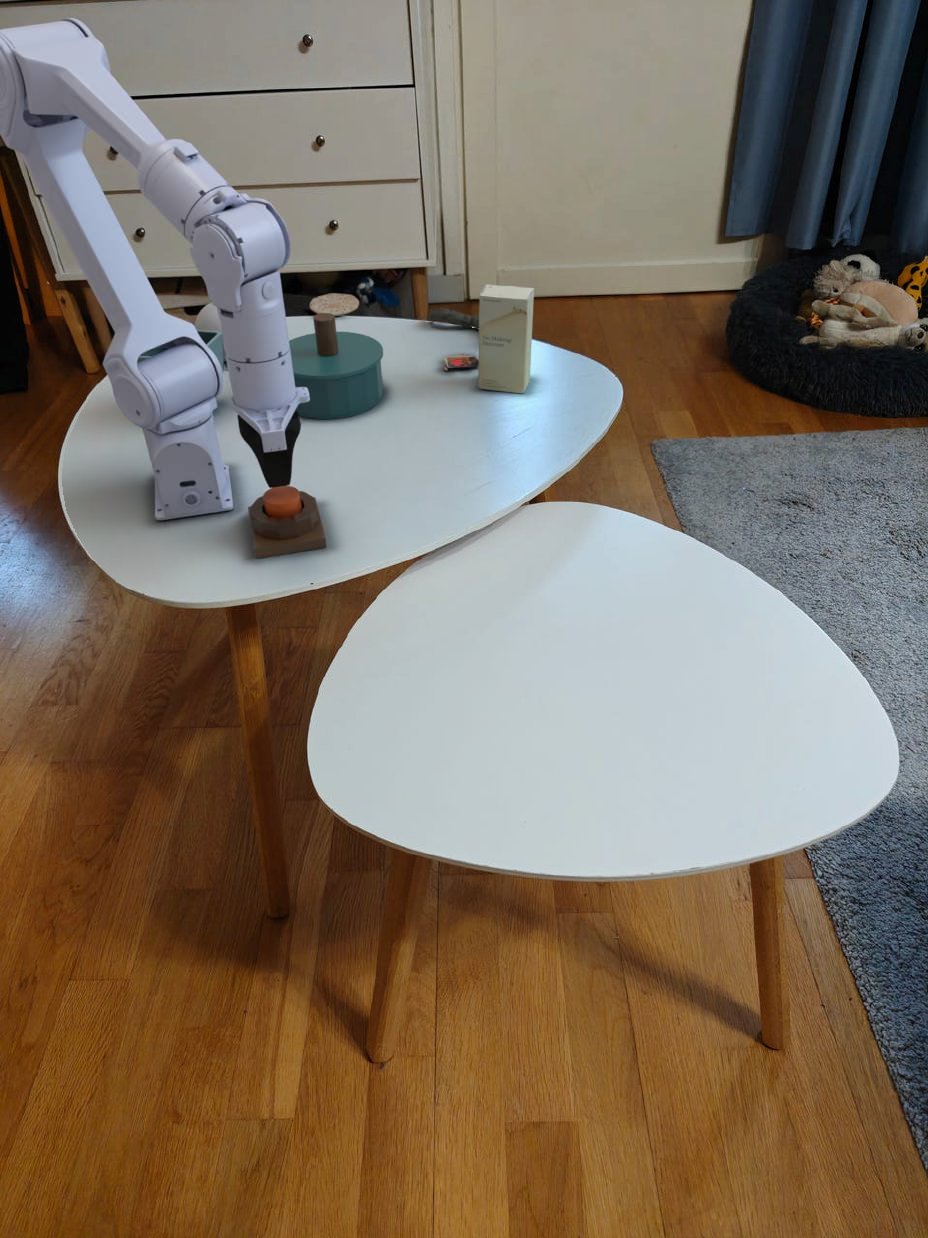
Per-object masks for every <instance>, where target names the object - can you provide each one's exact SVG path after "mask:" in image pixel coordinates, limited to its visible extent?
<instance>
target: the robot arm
mask: <svg viewBox="0 0 928 1238" xmlns="http://www.w3.org/2000/svg"><path fill="white" fill-rule="evenodd" d="M91 131H93V132H94V133H95V134H97V136H99V137H100V138H101V139H102V140H103V141H105V142H106V143H107V144H108V145H109V146H110V147H111V148H112V149H114V150H115V151H116V152H117V153H118V154H119V155H120V156H122V157H123V158H124V160H126V161H127V162H128V163H130V164H131V165H132V166H133V167H134V168H135V169H136V170H137V172H138V173H137V184H138V188H139V190H140V193H141V194H142V195H143V196H144V197H145V198H146V200H148V201H149V202H150V203H151V205H152V206H154V208H155V209H157V211H158V212H159V213H160V214H161V215H162V216H163V217H164V218H165V219H166V220H167V221H168V222H169V223H170V224H171V225H172V226H173V227H174V228H175V230H177V231H178V232H179V233H180V234H181V235H182V236H183V237H184V238H185V239H186V240H187V241H188V242H189V244H191V245H192V246H190V247H189V251H190V255H191V258H192V262H193V264H194V267H195V268H196V270H197V271H198V273H199V275H200V276H201V277H202V279H203V281H204V284H205V287H206V292H207V296H208V299H210V301H211V302H212V304H213V305H214V306H216V307H217V312H218V317H219V323H220V328H221V333H222V339H223V344H224V350H225V356H226V361H227V362H226V366H227V371H228V377H229V382H230V387H231V388H230V389H231V393H232V397H231V406H232V409H233V411H234V412H235V413H236V414H237V422H238V423H237V424H238V429H239V434H240V436H241V438H242V439H243V440H244V442H245V443H246V444H247V445H248V447H249V448H250V449H251V451H252V452H253V454H254V456H255V458H256V460H257V462H258V465H259V467H260V470H261V473H262V475H263V478H264V481H265V482H266V485H267V486H268V488H269V489H271V488H273V487H280V486H291V481H292V473H293V457H294V456H293V455H294V449H295V446H296V443H297V440H298V438H299V435H300V433H301V428H302V424H301V423H302V422H301V419H300V417H299V416H300V415H298V410H297V406H298V404H300V403H305V402H308V401H310V396H309V391H308V389H307V388H306V387H295V381H294V374H293V366H292V359H291V352H290V344H289V340H290V339H289V338H290V337H289V331H288V323H287V317H286V316H287V315H286V309H285V303H284V294H283V287H282V286H283V285H282V279H281V272H280V271H279V270H280V269H283V268H284V267H285V266H286V265H287V264H288V262H289V260H290V257H291V252H292V242H291V237H290V233H289V230H288V227H287V225H286V222H285V220H284V219H283V218H282V216H281V215H280V213H279V212H278V211H277V210H276V208H275V207H274V205H273V204H272V202H269V201H268V200H267V199H264V198H260V197H254V198H253V197H251V196H249V195H248V194H247V193H246V192H245V193H242V192H241V193H238V191H236V189H234V188H233V186H232V185H230V183H229V182H228V181H226V180H225V179H224V177H223V176H222V175H221V174H220V173H219V172H218V171H217V170H216V169H215V168H214V167H213V166H212V165H211V164H210V163H209V162H208V161H207V160H206V159H205V158H204V157H203V156H202V155H201V154H200V152H199V150H198V148H196V147H195V146H194V145H193V144H192V143H191V142H189V141H188V142H187V141H186V140H184V139H180V138H171V139H166V137H165V136H164V135H163V134H162V133H161V132H160V131H159V129H158V128H157V127H156V126H155V125H154V123H153V122H152V121H151V120H150V119H149V118H148V116H147V115H146V114H145V113H144V112H143V111H142V109H141V108H140V107H139V105H138V104H137V103H136V102H135V101H134V100H133V98H132V97H131V96H130V95H129V94H128V92H127V91H126V90H125V89H124V88H123V86H121V84H120V83H119V81H117V79H116V78H115V77H114V76H113V75H112V73H111V66H110V62H109V58H108V53H107V51H106V48H105V46H104V44H103V43H102V42H101V41H100V40H99V39H98V38H96V37H95V35H94V34H93V33H92V31H91V29H89V27H88V26H87V25H86V24H84V23H83V22H82V21H81V20H80V19H77V18H75V17H66V18H62V19H61V20H59V21H52V22H47V23H46V22H45V23H44V22H43V23H37V24H29V25H23V26H15V27H8V28H2V29H0V137H1V138H2V141H3V142H4V144H5V146H6V147H7V148H8V149H11V150H13V151H15V152H18V153H19V155H20V158H21V159H22V161H23V163H24V165H25V167H26V169H27V171H28V172H29V175H30V176H31V178H32V181H33V182H34V184H35V186H36V188H37V189H38V191H39V194H40V195H41V197H42V199H43V200H44V202H45V204H46V206H47V208H48V210H49V212H50V214H51V215H52V218H53V220H54V221H55V223H56V225H57V227H58V229H59V230H60V232H61V234H62V236H63V238H64V240H65V242H66V243H67V246H68V247H69V249H70V251H71V253H72V255H73V257H74V258H75V260H76V262H77V264H78V266H79V268H80V270H81V272H82V273H83V275H84V278H85V279H86V281H87V283H88V285H89V287H90V289H91V290H92V292H93V294H94V296H95V298H96V300H97V301H98V303H99V305H100V307H101V309H102V311H103V313H104V315H105V316H106V318H107V320H108V322H109V324H110V326H111V328H112V329H113V332H114V336H113V337H112V340H111V342H110V344H109V346H108V349H107V352H106V353H105V356H104V358H103V361H102V366H103V369H104V370H105V373H106V375H107V378H108V379H109V382H110V384H111V388H112V393H113V397H114V401H115V402H116V405H117V407H118V408H119V410H120V411H121V413H122V414H123V416H124V417H125V418H126V419H127V420H128V421H129V422H131V423H132V424H133V425H135V426H137V427H139V428H140V429H141V430H142V432H143V436H144V440H145V444H146V448H147V452H148V456H149V459H150V464H151V467H152V468H151V469H152V472H153V476H154V518H155V520H156V521H165V520H173V519H181V518H186V517H187V518H188V517H192V516H200V515H206V514H214V513H221V512H226V511H227V512H228V511H231V510H233V509H234V501H233V500H234V499H233V492H232V485H231V482H232V481H231V476H230V467H229V465H228V464H224V462H223V458H222V453H221V448H220V443H219V438H218V432H217V429H216V428H217V427H216V423H215V418H214V413H213V411H214V410H216V409H217V408H218V403H217V399H216V397H217V398H218V397H219V396H220V395H221V394H222V392H223V390H224V384H225V383H224V371H223V372H222V368H221V365H220V363H219V361H218V359H217V357H216V356H215V354H214V353H213V352H212V350H211V349H210V348H208V346H207V345H206V344H205V343H204V342H203V340H202V339H201V337H200V336H199V334H198V332H197V330H196V328H195V324H193V323H191V322H189V321H188V320H185V319H182V318H179V317H177V316H174V315H172V314H169V313H167V312H166V311H165V310H164V308H163V306H162V304H161V302H160V300H159V298H158V296H157V295H156V293H155V291H154V288H153V287H152V285H151V283H150V281H149V279H148V277H147V275H146V274H145V271H144V269H143V267H142V265H141V263H140V261H139V259H138V258H137V255H136V253H135V252H134V249H133V248H132V245H131V243H130V242H129V239H128V238H127V236H126V234H125V231H124V230H123V228H122V226H121V224H120V222H119V221H118V218H117V216H116V214H115V212H114V210H113V209H112V207H111V204H110V203H109V201H108V199H107V197H106V195H105V192H104V191H103V189H102V187H101V185H100V183H99V181H98V179H97V177H96V176H95V173H94V172H93V169H92V167H91V166H90V163H89V161H88V160H87V158H86V155H85V154H84V151H83V144H84V138H85V137H86V136H87V135H88V134H89V133H90V132H91ZM211 302H210V303H211ZM162 347H165V348H169V349H168V350H166V351H163V352H161V353H159V354H156V355H154V356H151V357H149V358H147V359H144V360H142V361H140V362H137V360H138V358H139V356H141V355H143V354H146V353H148V352H151V351H153V350H155V349H158V348H162Z"/></svg>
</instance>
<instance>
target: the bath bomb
mask: <svg viewBox="0 0 928 1238" xmlns="http://www.w3.org/2000/svg"><path fill="white" fill-rule="evenodd" d="M194 326H195V328H196V330H207V331H219V332H221V328H220V323H219V317H218V312H217V307H216V306H214V305H213V304H212V302H209V303H207V304H206V305H204V307H203V308H202V309H201V310H200V311H199V313H198V314H197V316H196V318H195V322H194ZM222 348H223V362H226V363H227V361H226V356H225V350H224V344H223V339H222Z"/></svg>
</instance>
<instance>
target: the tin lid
mask: <svg viewBox="0 0 928 1238" xmlns="http://www.w3.org/2000/svg"><path fill="white" fill-rule="evenodd" d="M312 320H313V328H314V333H309V334H305V335H301V336H298V337H295V338H292V339H289V344H290V352H291V359H292V366H293V374H294V377H298V378H305V379H335V378H342V377H347V376H352V375H355V374H359V373H361V372H364V371H366V370H369V369H370V368H372V367H374V366H375V365H377V364H378V363H379V362H380V361H381V362H382V359H383V357H384V348H383V345H382V344H381V343H380V341H378V340H377V339H375V338H373V337H371V336H369V335H366V334H363V333H357V332H351V331H337V326H336V325H337V323H336V316H334V315H333V314H330V313H321V314H317V313H316V314H315V315H314V316H313V318H312Z"/></svg>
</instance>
